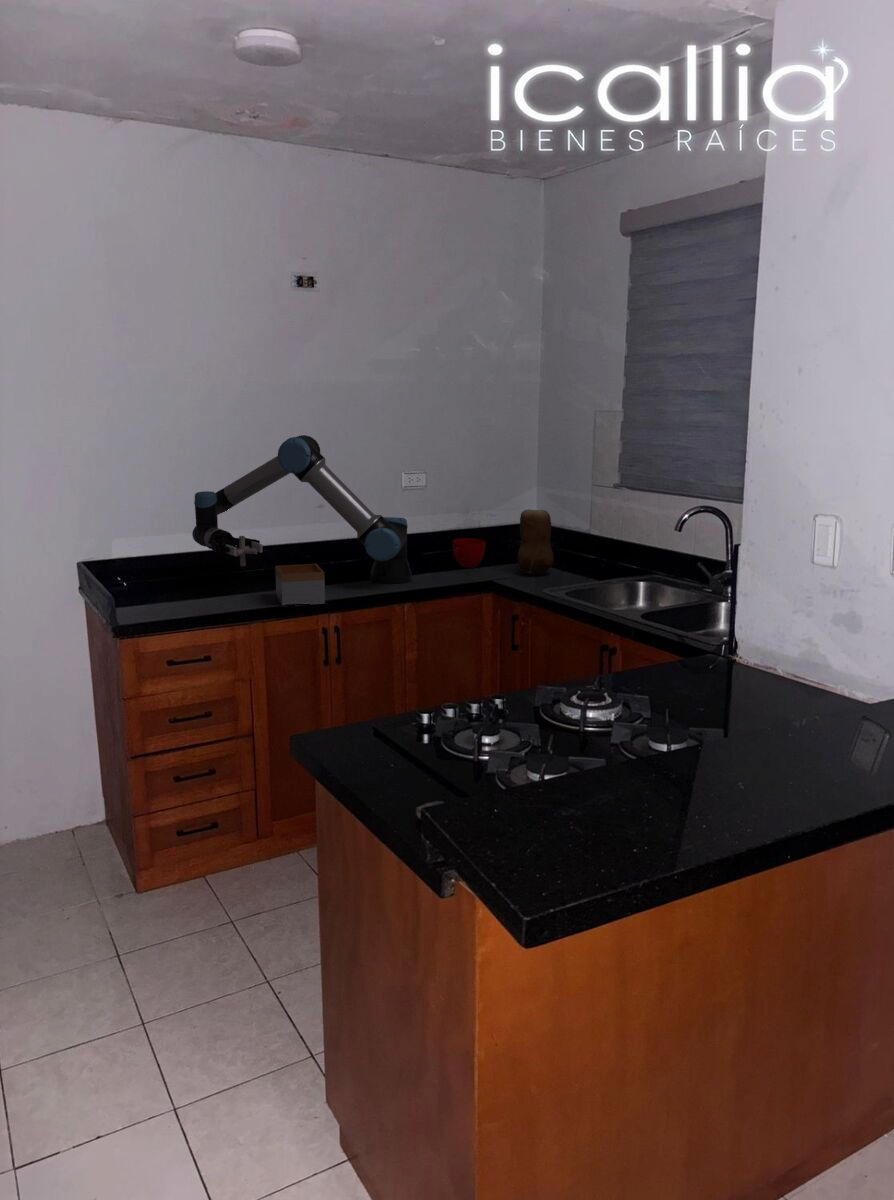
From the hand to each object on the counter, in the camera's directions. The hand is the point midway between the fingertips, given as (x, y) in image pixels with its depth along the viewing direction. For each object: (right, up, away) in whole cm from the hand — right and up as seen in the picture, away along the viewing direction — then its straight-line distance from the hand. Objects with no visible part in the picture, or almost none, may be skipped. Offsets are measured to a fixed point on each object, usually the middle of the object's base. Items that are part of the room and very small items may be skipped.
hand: (248, 550), depth 310 cm
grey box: (+17, -16, +3) cm, 24 cm away
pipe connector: (-3, -5, +5) cm, 8 cm away
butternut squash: (+99, -7, +47) cm, 110 cm away
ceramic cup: (+73, -4, +58) cm, 93 cm away
